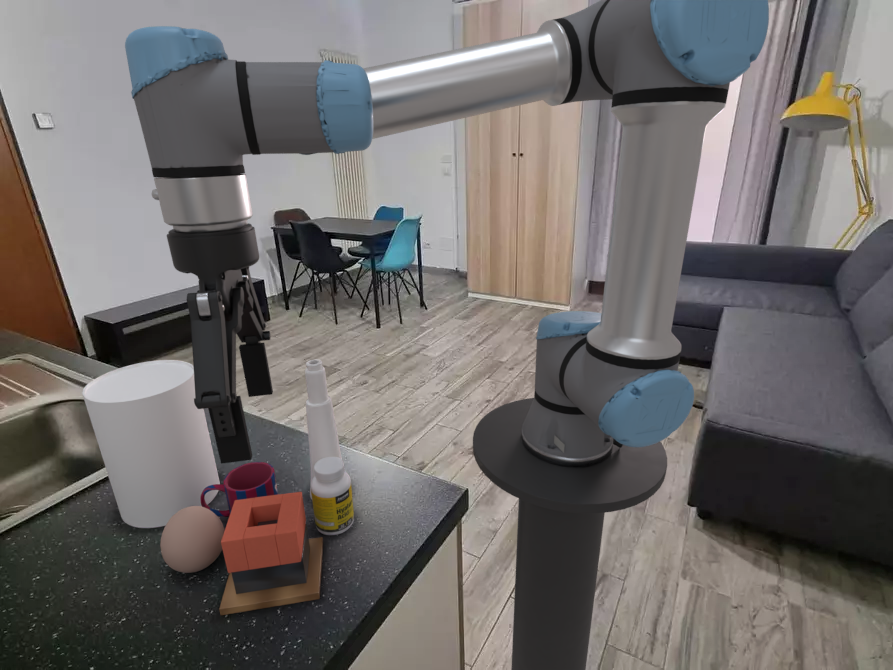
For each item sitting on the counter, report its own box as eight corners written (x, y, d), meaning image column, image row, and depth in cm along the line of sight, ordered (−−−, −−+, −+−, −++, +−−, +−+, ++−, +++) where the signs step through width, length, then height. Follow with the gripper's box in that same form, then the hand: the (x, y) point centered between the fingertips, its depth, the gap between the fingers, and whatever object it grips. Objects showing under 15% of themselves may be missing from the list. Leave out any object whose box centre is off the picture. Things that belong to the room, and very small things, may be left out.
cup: (278, 527, 68) (271, 487, 66) (202, 538, 66) (191, 498, 64) (283, 496, 74) (276, 458, 72) (213, 506, 72) (204, 468, 70)
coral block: (306, 519, 62) (301, 491, 61) (301, 562, 56) (296, 531, 54) (240, 529, 61) (234, 499, 59) (227, 573, 55) (220, 542, 53)
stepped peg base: (323, 542, 65) (317, 497, 63) (319, 599, 57) (312, 549, 54) (237, 555, 63) (227, 509, 61) (220, 615, 55) (207, 565, 53)
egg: (155, 573, 61) (139, 520, 58) (206, 535, 67) (193, 486, 64) (192, 596, 58) (177, 541, 55) (241, 554, 64) (230, 502, 61)
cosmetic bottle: (357, 490, 75) (344, 361, 67) (325, 511, 71) (307, 375, 63) (334, 474, 79) (319, 350, 71) (302, 493, 75) (282, 363, 67)
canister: (97, 522, 70) (55, 399, 62) (163, 466, 82) (134, 357, 75) (182, 532, 67) (149, 405, 60) (236, 473, 80) (214, 362, 73)
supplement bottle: (342, 540, 66) (335, 480, 62) (308, 531, 67) (299, 472, 64) (361, 514, 70) (356, 457, 67) (329, 506, 72) (322, 450, 69)
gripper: (204, 211, 56) (238, 377, 63) (103, 252, 33) (175, 504, 41) (272, 208, 57) (297, 371, 65) (220, 245, 34) (268, 491, 42)
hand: (250, 423), depth 53 cm, fingers open, 13 cm apart
